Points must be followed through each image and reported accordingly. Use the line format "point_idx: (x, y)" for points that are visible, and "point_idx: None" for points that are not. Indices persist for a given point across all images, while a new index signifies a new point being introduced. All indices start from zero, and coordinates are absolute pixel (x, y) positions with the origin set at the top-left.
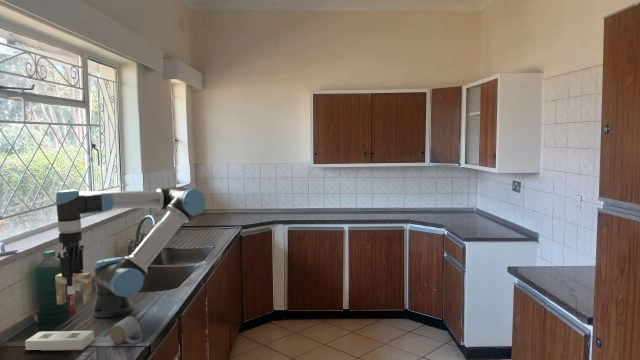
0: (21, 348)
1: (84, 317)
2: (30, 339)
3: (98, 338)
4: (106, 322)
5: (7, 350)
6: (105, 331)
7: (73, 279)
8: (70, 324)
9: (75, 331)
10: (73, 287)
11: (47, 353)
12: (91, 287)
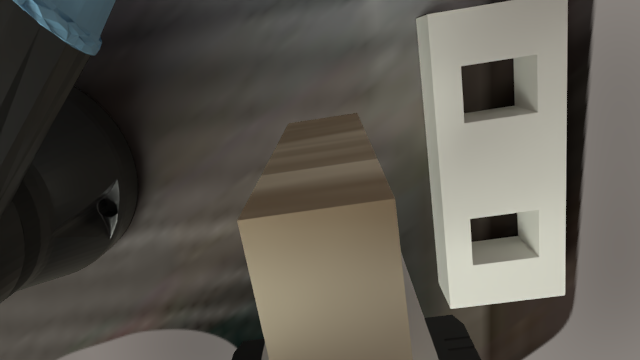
0: (516, 304)
1: (150, 267)
2: (546, 283)
3: (395, 5)
4: (185, 107)
5: (534, 344)
6: (301, 28)
7: (436, 355)
8: (244, 276)
9: (442, 121)
10: (412, 295)
11: (573, 154)
12: (284, 150)
